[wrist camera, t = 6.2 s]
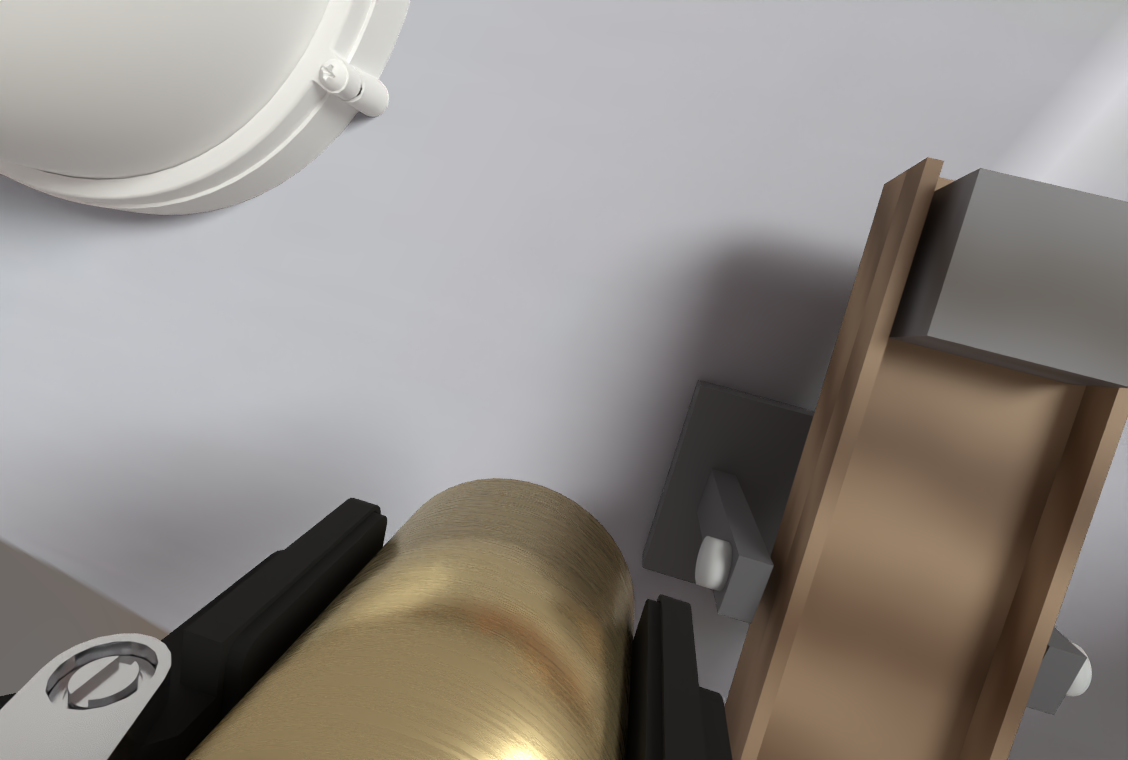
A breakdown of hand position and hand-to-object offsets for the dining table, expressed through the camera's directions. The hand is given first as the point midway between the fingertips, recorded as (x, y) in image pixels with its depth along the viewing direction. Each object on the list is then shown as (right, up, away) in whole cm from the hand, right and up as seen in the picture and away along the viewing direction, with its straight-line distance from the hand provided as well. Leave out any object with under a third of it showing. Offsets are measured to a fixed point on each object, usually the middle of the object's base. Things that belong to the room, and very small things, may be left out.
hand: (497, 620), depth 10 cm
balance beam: (+13, -4, +10) cm, 17 cm away
